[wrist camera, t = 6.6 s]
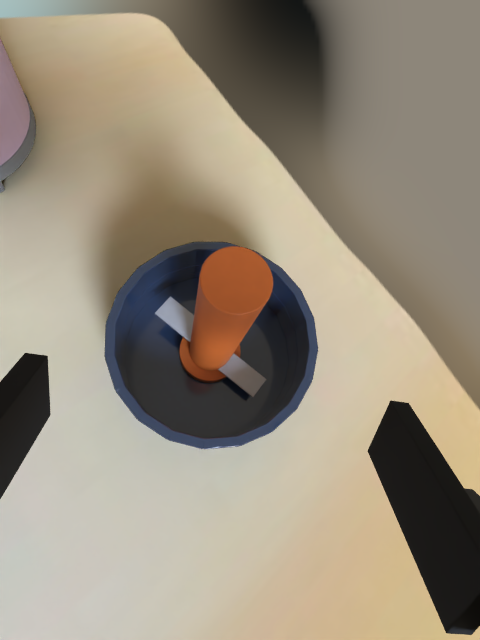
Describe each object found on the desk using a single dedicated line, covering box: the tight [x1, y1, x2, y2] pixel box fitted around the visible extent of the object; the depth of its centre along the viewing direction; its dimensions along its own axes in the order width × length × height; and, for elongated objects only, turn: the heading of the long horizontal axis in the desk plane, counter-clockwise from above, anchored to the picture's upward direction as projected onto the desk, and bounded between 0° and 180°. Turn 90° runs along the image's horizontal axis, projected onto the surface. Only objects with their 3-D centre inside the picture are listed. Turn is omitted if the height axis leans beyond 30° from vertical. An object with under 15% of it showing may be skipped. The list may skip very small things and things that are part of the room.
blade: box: [155, 246, 273, 397], centre depth 22 cm, size 9×4×14 cm, turn 52°
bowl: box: [105, 242, 318, 449], centre depth 27 cm, size 13×13×6 cm
